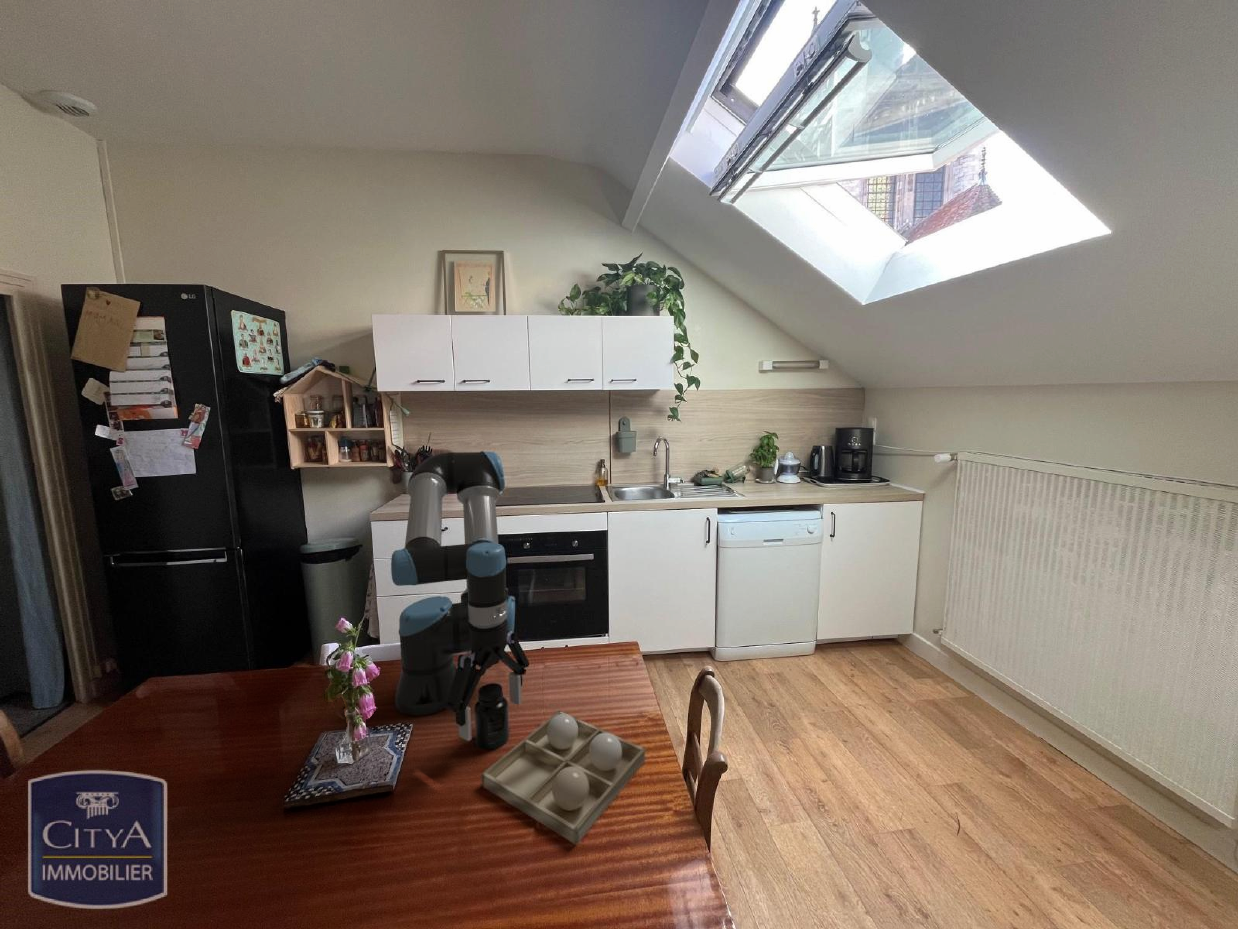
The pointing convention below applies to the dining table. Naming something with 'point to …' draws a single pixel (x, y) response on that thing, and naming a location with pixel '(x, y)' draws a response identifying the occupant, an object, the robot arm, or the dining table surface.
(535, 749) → the crate
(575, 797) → the egg
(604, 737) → the egg
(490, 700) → the supplement bottle
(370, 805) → the dining table surface
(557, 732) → the egg
